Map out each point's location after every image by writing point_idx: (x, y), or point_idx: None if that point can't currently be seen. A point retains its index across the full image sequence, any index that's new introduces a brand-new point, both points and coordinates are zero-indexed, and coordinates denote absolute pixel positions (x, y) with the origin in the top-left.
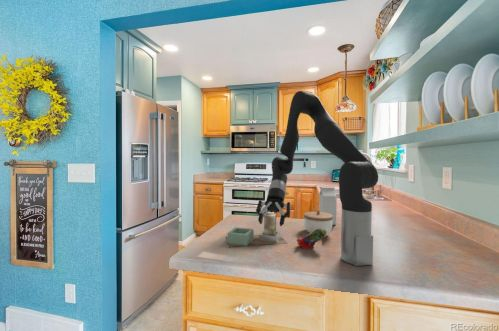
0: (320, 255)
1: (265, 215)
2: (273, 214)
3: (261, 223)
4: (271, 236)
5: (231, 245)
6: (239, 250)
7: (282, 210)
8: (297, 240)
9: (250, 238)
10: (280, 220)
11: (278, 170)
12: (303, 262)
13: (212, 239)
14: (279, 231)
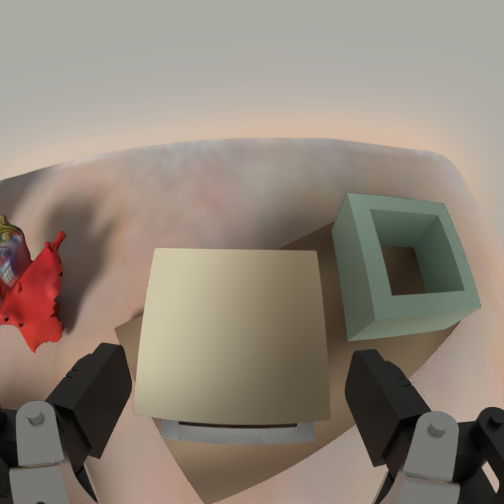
0: None
1: (294, 250)
2: (174, 359)
3: (346, 384)
4: None
5: None
6: None
7: (20, 467)
8: (57, 284)
9: (347, 272)
10: (101, 360)
11: None
12: (84, 204)
13: (496, 299)
14: (168, 434)
